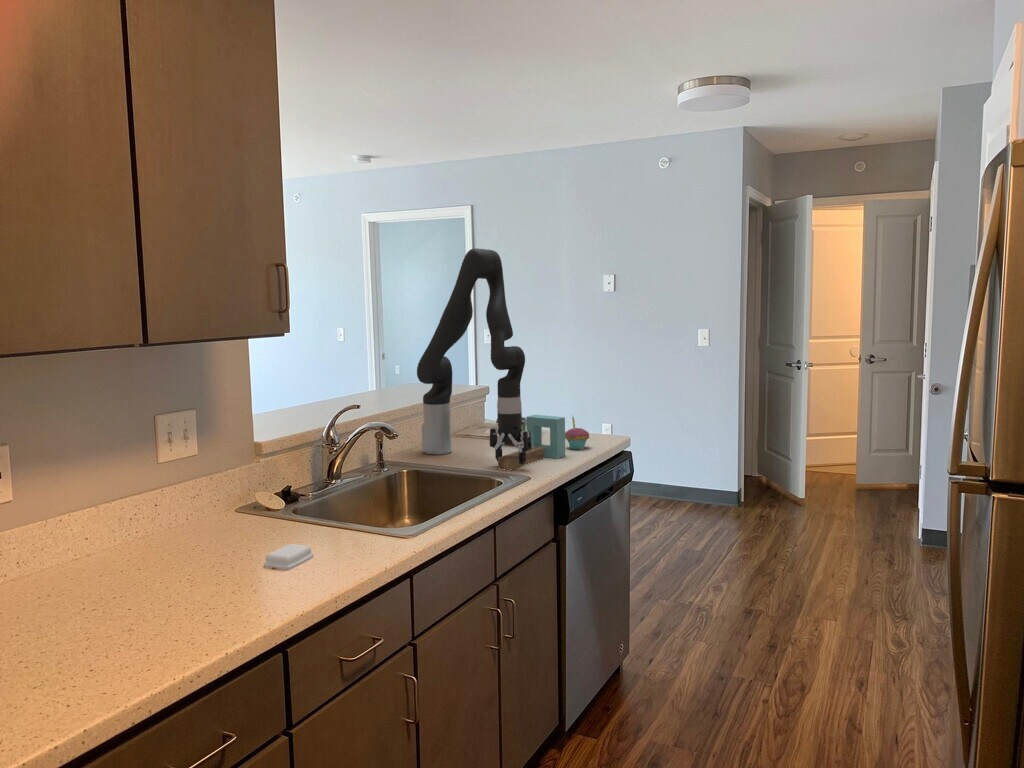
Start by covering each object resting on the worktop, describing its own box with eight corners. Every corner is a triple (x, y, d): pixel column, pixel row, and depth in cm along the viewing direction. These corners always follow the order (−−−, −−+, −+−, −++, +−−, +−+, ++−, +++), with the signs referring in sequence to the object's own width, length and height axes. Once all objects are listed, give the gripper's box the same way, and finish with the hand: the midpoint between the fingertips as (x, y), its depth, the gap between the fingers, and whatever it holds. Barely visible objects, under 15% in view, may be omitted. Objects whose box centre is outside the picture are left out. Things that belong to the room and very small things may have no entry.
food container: (534, 445, 269) (534, 417, 268) (525, 448, 264) (525, 420, 263) (505, 441, 276) (505, 415, 275) (496, 444, 271) (495, 417, 269)
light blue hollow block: (527, 454, 253) (526, 416, 251) (535, 452, 257) (534, 414, 255) (557, 458, 246) (557, 419, 244) (565, 455, 250) (564, 417, 248)
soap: (289, 554, 159) (288, 540, 159) (316, 557, 157) (315, 544, 156) (260, 568, 151) (260, 554, 150) (288, 572, 148) (287, 558, 148)
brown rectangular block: (498, 470, 232) (498, 457, 232) (533, 458, 249) (533, 446, 248) (508, 471, 230) (508, 458, 230) (543, 459, 246) (543, 447, 246)
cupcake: (577, 451, 256) (577, 417, 255) (559, 448, 263) (559, 414, 261) (594, 448, 262) (594, 414, 260) (576, 444, 268) (576, 411, 267)
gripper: (483, 411, 233) (485, 462, 235) (521, 414, 225) (523, 467, 227) (497, 408, 239) (499, 458, 241) (535, 410, 231) (536, 462, 233)
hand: (510, 462), depth 234 cm, fingers open, 8 cm apart
